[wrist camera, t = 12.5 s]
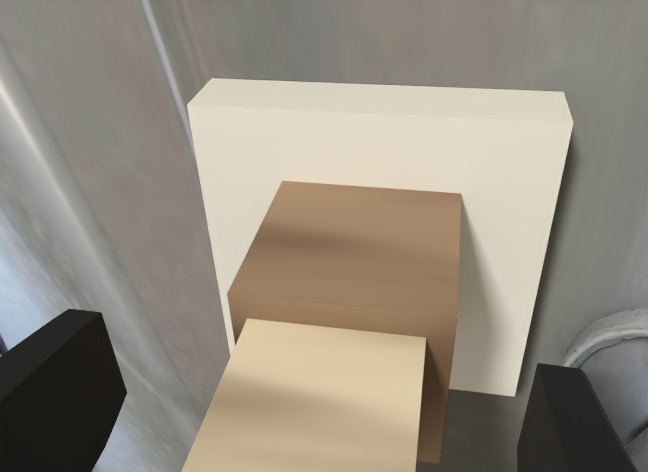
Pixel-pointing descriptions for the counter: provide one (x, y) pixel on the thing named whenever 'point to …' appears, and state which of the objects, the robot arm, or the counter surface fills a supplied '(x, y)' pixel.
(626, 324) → the ceramic mug
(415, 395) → the maple block
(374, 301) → the walnut block
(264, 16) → the counter surface
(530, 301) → the base
